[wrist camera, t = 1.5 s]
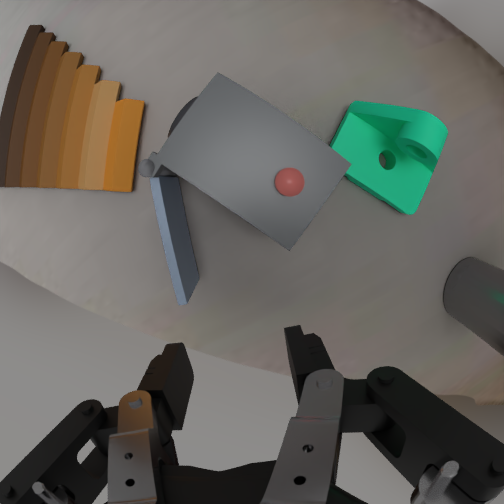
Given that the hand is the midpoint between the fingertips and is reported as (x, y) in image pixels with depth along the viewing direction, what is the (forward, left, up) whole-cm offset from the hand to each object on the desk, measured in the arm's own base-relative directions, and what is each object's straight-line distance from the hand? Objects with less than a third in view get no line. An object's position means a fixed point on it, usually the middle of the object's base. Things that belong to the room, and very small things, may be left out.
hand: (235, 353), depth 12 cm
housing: (+5, -7, -19) cm, 21 cm away
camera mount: (-6, -18, -20) cm, 27 cm away
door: (+7, +1, -19) cm, 20 cm away
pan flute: (+31, -4, -20) cm, 37 cm away
